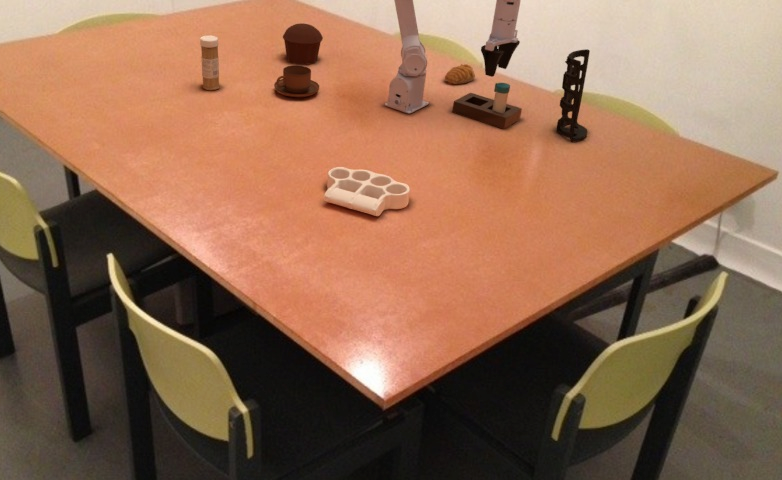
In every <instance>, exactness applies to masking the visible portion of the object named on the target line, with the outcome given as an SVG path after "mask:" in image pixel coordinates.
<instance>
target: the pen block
mask: <svg viewBox="0 0 782 480" xmlns="http://www.w3.org/2000/svg"><path fill="white" fill-rule="evenodd" d="M452 103H453V105H452V111H451V113H454V114H456V115H457V114H458V115H461V116H463V117H466V118H469V119H471V120H475V121H478V122H481V123H484V124H487V125H490V126H493V127H495V128H500V129H502V130H505V129H507V128H508V127H510V126H512V125H513V124H515V123H516V122H518V121H520V120H521V115H522V110H523V108H521V107H518V106H515V105H511V104H508V103H507V104H506V109H505V113H503V114H502V113H499V112H496V111H493V110H492V109H493V104H494V99H493V98H489V97H486V96H483V95H480V94H476V93H473V92H468V93H467V94H464V95H463V96H461V97H459V98H457V99H455V100H454V101H453V102H452Z"/></svg>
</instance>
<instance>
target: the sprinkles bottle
mask: <svg viewBox="0 0 782 480" xmlns="http://www.w3.org/2000/svg"><path fill="white" fill-rule="evenodd" d="M199 43H200V48H201V75H202V76H201V77H202V88H203V89H204V90H207V91H217V90H218V89H219V88H220V62H219V60H220V59H219V37H217V36H216V35H210V34H207V35H203V36H201V37H200V38H199Z"/></svg>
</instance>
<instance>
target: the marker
mask: <svg viewBox="0 0 782 480" xmlns="http://www.w3.org/2000/svg"><path fill="white" fill-rule="evenodd" d="M510 89H511V85H510V84H509V83H508V82H507V83H506V82H495V85H494V90H493V92H494V99H493V100H494V104H493V109H492V110H493V111H496V112H499V113H502V114H503V113H505V109H506V104H508V98H509V93H510Z"/></svg>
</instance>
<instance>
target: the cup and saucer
mask: <svg viewBox="0 0 782 480" xmlns="http://www.w3.org/2000/svg"><path fill="white" fill-rule="evenodd" d="M273 86H274V90H275V91H276V92H278V93H279V94H280V95H283V96H286V97H291V98H306V97H310V96H313V95H315V94H317V92H319V90H320V84H319V83H317V81H314V80H312V69H311V68H310V67H308V66H304V65H300V64H295V65H288V66H285V67H283V69H282V75H279V76H278V77H277V79H276V81H275V82H274V84H273Z"/></svg>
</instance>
